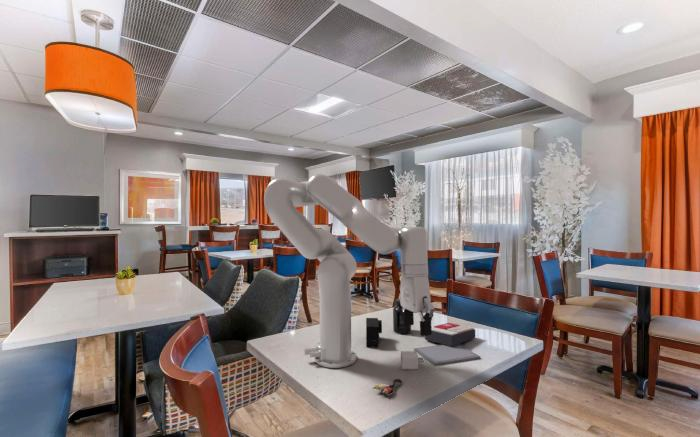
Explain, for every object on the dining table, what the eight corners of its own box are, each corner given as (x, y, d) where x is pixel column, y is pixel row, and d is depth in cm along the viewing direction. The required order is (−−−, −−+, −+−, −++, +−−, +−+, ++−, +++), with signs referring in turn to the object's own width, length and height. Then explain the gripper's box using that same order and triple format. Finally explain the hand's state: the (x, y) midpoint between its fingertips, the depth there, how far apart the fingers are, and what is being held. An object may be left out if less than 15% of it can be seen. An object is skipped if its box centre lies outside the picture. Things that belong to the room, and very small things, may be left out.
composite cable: (397, 381, 85) (397, 371, 85) (412, 387, 82) (412, 377, 82) (371, 394, 79) (371, 384, 79) (386, 402, 75) (386, 391, 75)
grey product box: (475, 327, 116) (452, 333, 106) (475, 339, 115) (453, 347, 105) (448, 321, 124) (424, 327, 114) (448, 333, 123) (424, 339, 114)
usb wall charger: (400, 364, 95) (400, 350, 95) (424, 364, 95) (424, 350, 95) (402, 370, 91) (402, 355, 91) (427, 370, 91) (427, 356, 91)
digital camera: (382, 348, 108) (382, 326, 108) (366, 347, 108) (366, 326, 108) (381, 337, 118) (381, 317, 118) (366, 336, 118) (366, 317, 118)
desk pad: (434, 365, 94) (434, 363, 94) (413, 350, 105) (413, 348, 105) (480, 358, 99) (480, 356, 99) (456, 344, 110) (456, 342, 110)
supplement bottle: (414, 330, 125) (413, 299, 125) (407, 335, 119) (406, 302, 119) (397, 327, 129) (397, 297, 129) (390, 332, 123) (389, 300, 123)
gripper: (389, 267, 101) (391, 323, 100) (418, 274, 84) (420, 341, 84) (411, 265, 103) (413, 320, 102) (443, 272, 86) (446, 337, 86)
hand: (416, 330), depth 93 cm, fingers open, 9 cm apart
